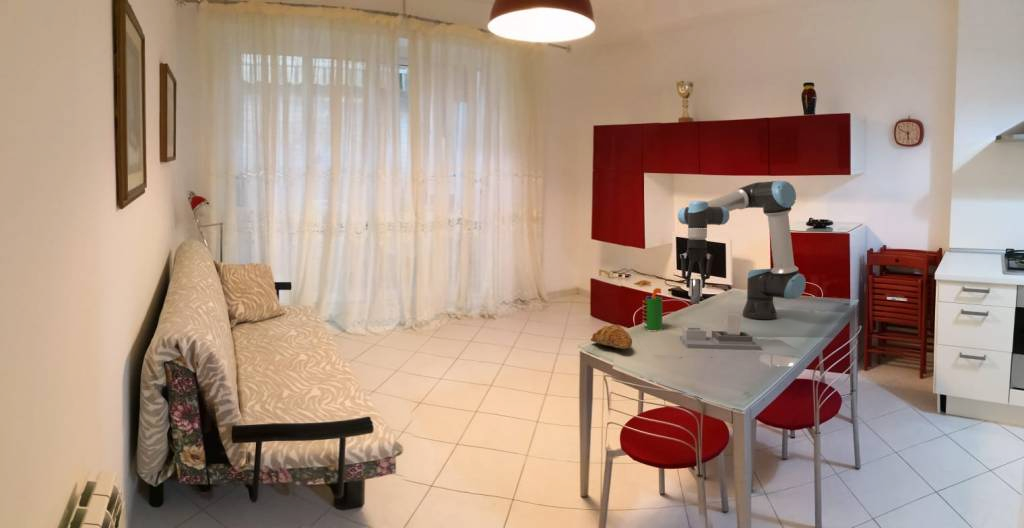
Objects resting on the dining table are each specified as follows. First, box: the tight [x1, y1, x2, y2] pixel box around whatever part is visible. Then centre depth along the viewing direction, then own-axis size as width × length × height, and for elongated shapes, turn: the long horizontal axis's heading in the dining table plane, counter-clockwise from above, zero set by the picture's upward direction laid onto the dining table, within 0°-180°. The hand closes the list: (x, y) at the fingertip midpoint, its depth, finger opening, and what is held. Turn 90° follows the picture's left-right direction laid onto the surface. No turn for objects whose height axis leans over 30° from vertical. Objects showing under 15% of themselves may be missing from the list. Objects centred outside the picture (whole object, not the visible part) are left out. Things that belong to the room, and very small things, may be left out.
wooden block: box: [723, 312, 742, 336], centre depth 253 cm, size 5×6×10 cm
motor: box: [642, 287, 663, 331], centre depth 280 cm, size 10×9×20 cm
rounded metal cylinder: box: [690, 278, 701, 305], centre depth 257 cm, size 4×4×10 cm
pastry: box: [590, 324, 633, 349], centre depth 250 cm, size 21×13×8 cm, turn 38°
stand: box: [679, 326, 762, 351], centre depth 253 cm, size 28×18×6 cm, turn 84°
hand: (695, 295), depth 257 cm, fingers closed on rounded metal cylinder, 3 cm apart
